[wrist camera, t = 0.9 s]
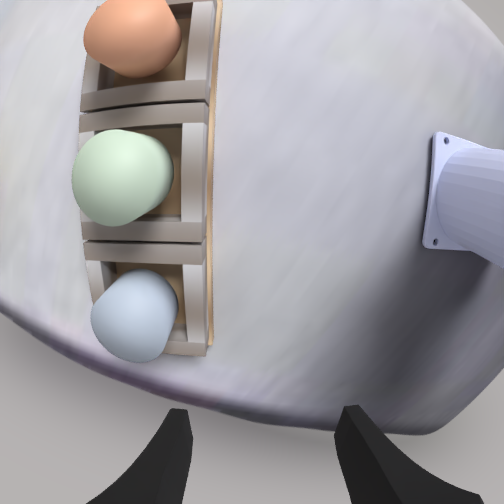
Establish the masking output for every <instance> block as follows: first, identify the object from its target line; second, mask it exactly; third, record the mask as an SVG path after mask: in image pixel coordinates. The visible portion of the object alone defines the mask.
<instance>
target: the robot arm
mask: <svg viewBox="0 0 504 504" xmlns="http://www.w3.org/2000/svg"><path fill="white" fill-rule="evenodd" d="M444 138H445V139H446V144H445V143H444ZM434 239H435V243H434V244H433V240H434ZM422 243H423V246H424V247H426V248H428V249H445V250H465V251H472V252H474V253H476V254H478V255H480V256H481V257H483V258H485V259H487V260H489V261H491V262H492V263H494V264H496V265H498V266H499V267H501V268H503V269H504V150H499V149H489V148H486V147H484V146H481V145H478V144H476V143H473V142H470V141H467V140H464V139H461V138H458V137H455V136H452V135H449V134H446V133H442V132H436V133H434V135H433V148H432V166H431V178H430V189H429V198H428V206H427V214H426V221H425V227H424V233H423V239H422ZM334 438H335V445H336V451H337V456H338V459H339V463H340V466H341V469H342V473H343V476H344V479H345V482H346V485H347V488H348V492H349V495H350V499H351V503H352V504H484V503H483V501H482V499H481V497H480V495H479V494H475V493H472V492H469V491H466V490H463V489H460V488H458V487H455V486H453V485H451V484H449V483H447V482H444V481H443V480H441V479H439V478H438V477H436V476H434V475H432V474H431V473H429V472H428V471H426V470H425V469H423V468H422V467H420V466H419V465H418V464H416V463H415V462H414V461H412V460H411V459H410V458H409V457H407V456H406V455H405V454H404V453H403V452H402V451H401V450H400V449H398V448H397V447H396V446H395V445H394V444H393V443H392V442H391V441H390V440H389V439H388V438H387V437H386V436H385V435H384V434H383V432H382V431H381V430H380V429H379V428H378V427H377V426H376V425H375V424H374V422H373V421H372V420H371V419H370V418H369V417H368V415H367V414H366V413H365V412H364V411H363V410H362V408H361V407H360V406H359V405H352V406H344V408H343V411H342V414H341V417H340V420H339V423H338V426H337V428H336V431H335V434H334ZM192 445H193V436H192V431H191V426H190V421H189V416H188V411H187V410H184V409H174V408H172V409H170V411H169V412H168V414H167V416H166V418H165V419H164V421H163V423H162V425H161V426H160V428H159V429H158V431H157V432H156V434H155V435H154V437H153V438H152V440H151V441H150V442H149V444H148V445H147V447H146V448H145V449H144V450H143V452H142V453H141V454H140V455H139V457H138V458H137V459H136V460H135V461H134V463H133V464H132V465H131V466H130V467H129V468H128V469H127V471H126V472H124V473H123V474H122V475H121V477H119V478H118V479H117V480H116V481H115V482H114V483H113V484H112V485H110V486H109V487H108V488H107V489H106V490H105V491H103V492H102V493H101V494H100V495H98V496H97V497H95V498H94V499H92V500H91V501H89V502H88V503H86V504H182V500H183V496H184V491H185V486H186V481H187V477H188V472H189V467H190V463H191V456H192Z"/></svg>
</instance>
